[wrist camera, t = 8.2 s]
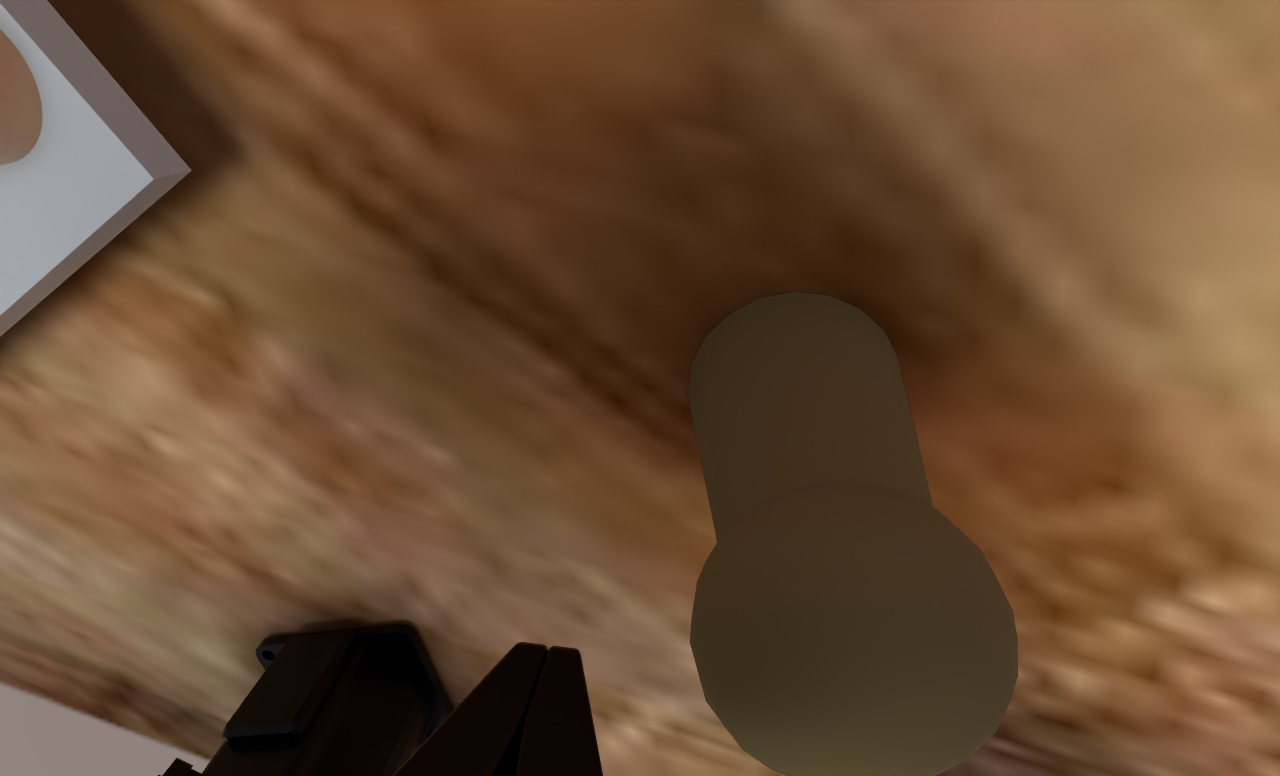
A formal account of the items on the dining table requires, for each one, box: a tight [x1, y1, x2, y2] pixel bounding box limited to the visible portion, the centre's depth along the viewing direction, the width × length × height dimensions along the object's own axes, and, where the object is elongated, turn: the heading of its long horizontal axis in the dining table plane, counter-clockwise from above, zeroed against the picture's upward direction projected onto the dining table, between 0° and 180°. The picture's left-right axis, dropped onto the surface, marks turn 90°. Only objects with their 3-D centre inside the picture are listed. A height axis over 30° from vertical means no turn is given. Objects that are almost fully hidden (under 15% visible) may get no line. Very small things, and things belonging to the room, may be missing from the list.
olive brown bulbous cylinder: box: [688, 291, 1018, 776], centre depth 15 cm, size 6×6×11 cm
